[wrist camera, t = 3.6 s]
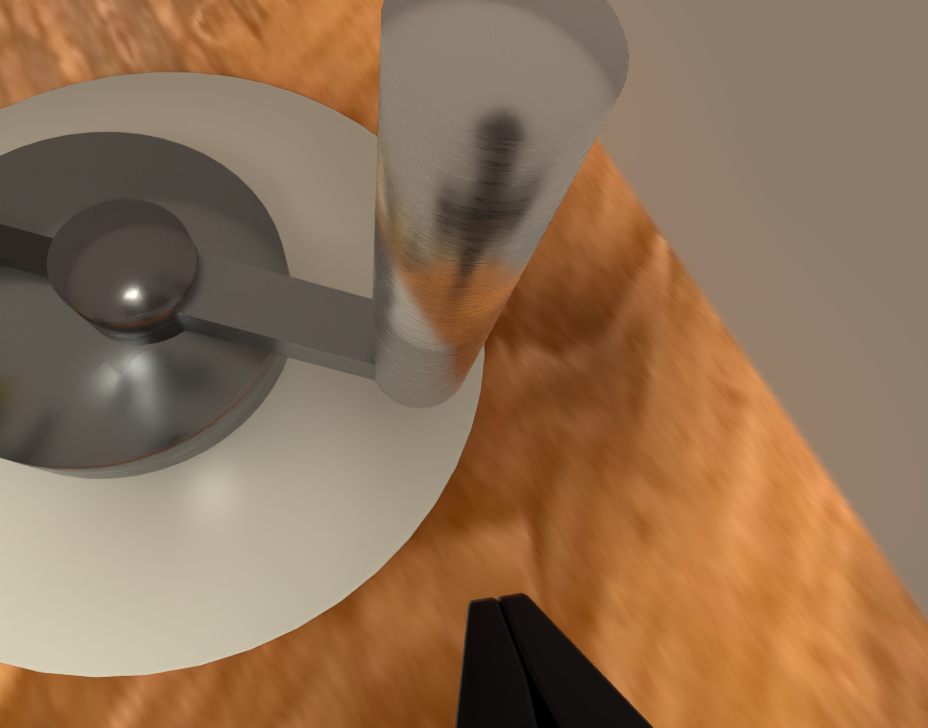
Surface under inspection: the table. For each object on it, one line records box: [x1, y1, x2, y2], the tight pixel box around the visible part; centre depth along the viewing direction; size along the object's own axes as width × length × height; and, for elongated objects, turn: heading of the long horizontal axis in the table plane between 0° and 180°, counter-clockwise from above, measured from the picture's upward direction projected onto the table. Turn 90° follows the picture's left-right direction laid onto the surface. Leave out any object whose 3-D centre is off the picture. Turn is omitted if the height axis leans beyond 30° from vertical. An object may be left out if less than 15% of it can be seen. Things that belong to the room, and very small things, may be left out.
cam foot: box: [0, 0, 629, 479], centre depth 11 cm, size 13×11×12 cm
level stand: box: [0, 72, 485, 677], centre depth 16 cm, size 18×18×4 cm
